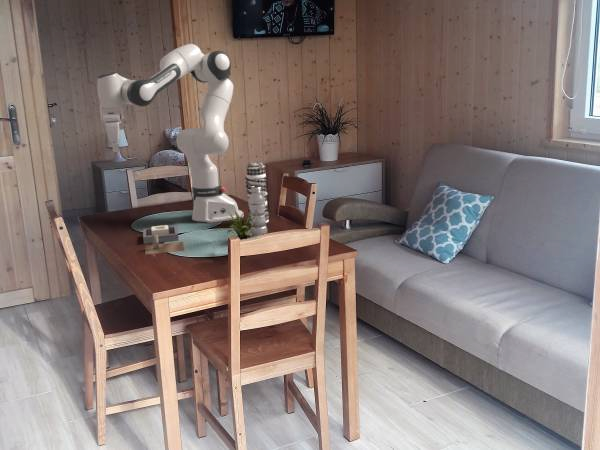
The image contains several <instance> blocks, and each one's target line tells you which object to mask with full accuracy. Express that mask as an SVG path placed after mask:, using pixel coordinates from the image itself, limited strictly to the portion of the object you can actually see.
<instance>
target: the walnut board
mask: <svg viewBox="0 0 600 450" xmlns="http://www.w3.org/2000/svg"><path fill="white" fill-rule="evenodd" d="M152 238H153V243H152V244H144V247H145V249H144V250H145V251H144V252H145V253H144V255H146V256H148V255H154V254H156V255H157V254H164V253H165V254H166V253H173V252H182V251H185V245H184V241H178V242H177V241H174V242H164V243H160V242H158V235H153V236H152Z"/></svg>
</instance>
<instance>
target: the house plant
mask: <svg viewBox="0 0 600 450" xmlns="http://www.w3.org/2000/svg"><path fill="white" fill-rule="evenodd" d="M227 213H228V212H227ZM235 213H236V218H237V219H234V218H233V216H232V215H231V214H230V213H228V214H229V215H230V216H231V217H232V220H231V219H230V218H229V219H230V220H227V219H226V220H225V221H228V222H229V223H230V224H231V225H230V226H229V228H231V229H227V228H226V227H225V228H222V229H225V230H227V231H226V234H229V233H231V232H232V233H233V231H234V232H235V236H237V237H239V238H240V239H241V240H242V239H247V238H251V237H252V235H251V233H250V232H251V231H252V230H254V229H256V228H254V229H252V230H251V231H250V228H252V227H254V226H251V223H250V222H251V221H252V220H253V219H254V217H255V216H257V215H258V214H257V215H255V216H254V217H253V218H252V219H251V221H250V220H249V217H250V214H249V213H248V214H249V216H248V217H247V219H245V220H244V222H243V217H242V216H241V217H240V216H239V215H238V214H237V212H236V211H235ZM242 213H243V214H244V211H242ZM243 214H242V215H243ZM227 218H228V217H227ZM249 221H250V222H249ZM249 225H250V226H249ZM252 238H253V237H252Z"/></svg>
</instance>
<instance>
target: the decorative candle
mask: <svg viewBox="0 0 600 450" xmlns="http://www.w3.org/2000/svg"><path fill="white" fill-rule="evenodd" d="M265 167H266V165H264V164H263V163H262V162H260V161H258V162H257V161H255V162H249V163H248V164H247V165H246V167H245V168H246V176H245V177H244V179H245V180H246V181H245V184H246V186H245V188H246V193H247V194H246V195H247V196H248V198H249V197H250V196H251V194H252V192H251V187H254V186H260V187H261V194H262V195H263V197H264V198H265V222H266V224H267V223H269V221H270V220H269V219H270V218H269V208H268V207H269V205H268V200H267V195H268V192H267V191H268V188H267V187H268V184H266V183H267V182H268V180H267V179H268V176H267V175H266V168H265ZM247 208H248V210H247V211H248V212H249V213H248V216H249V214H250V217H249V220H248V223H249V222H250V221H251V213H250V208H249V205H248V206H247ZM250 224H251V222H250Z"/></svg>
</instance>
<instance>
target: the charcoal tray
mask: <svg viewBox="0 0 600 450" xmlns="http://www.w3.org/2000/svg"><path fill="white" fill-rule="evenodd" d="M168 229H169V234H167V235H158V242H159V243H170V242H177V241H178V242H180V241H179V239H180V238H179V232H178V226H177V225H171V226H168ZM142 232H143V233H142V238H143V245H150V244H153V238H152V228H150V227H149V228H143V230H142Z"/></svg>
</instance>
